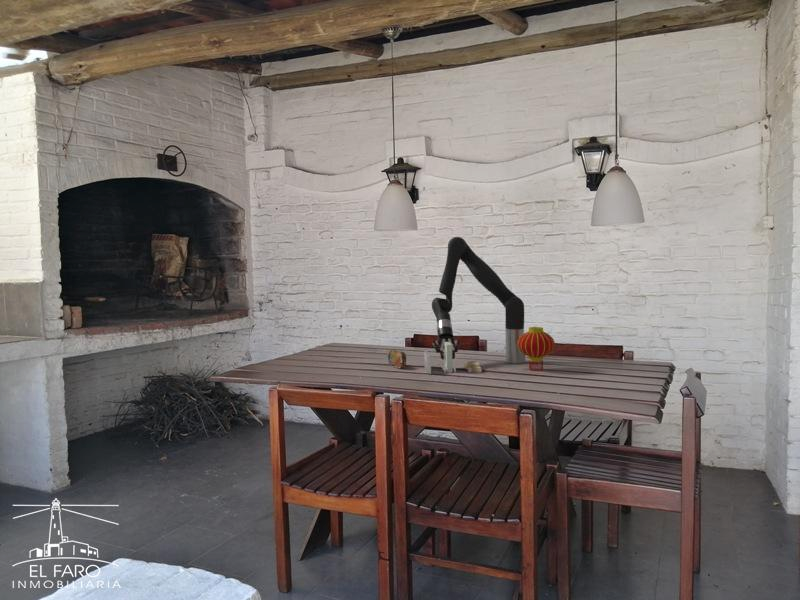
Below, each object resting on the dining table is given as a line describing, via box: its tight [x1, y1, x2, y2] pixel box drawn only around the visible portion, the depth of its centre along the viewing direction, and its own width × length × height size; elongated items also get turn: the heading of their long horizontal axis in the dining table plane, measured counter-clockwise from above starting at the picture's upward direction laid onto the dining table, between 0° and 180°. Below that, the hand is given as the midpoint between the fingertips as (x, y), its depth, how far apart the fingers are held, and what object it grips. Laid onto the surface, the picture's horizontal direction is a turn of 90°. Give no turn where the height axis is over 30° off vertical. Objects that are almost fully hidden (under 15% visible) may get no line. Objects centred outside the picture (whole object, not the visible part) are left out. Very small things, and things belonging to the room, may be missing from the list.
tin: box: [387, 349, 407, 369], centre depth 301 cm, size 15×3×8 cm, turn 28°
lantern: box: [517, 326, 556, 372], centre depth 286 cm, size 17×17×30 cm
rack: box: [423, 350, 457, 375], centre depth 290 cm, size 14×18×8 cm
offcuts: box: [463, 360, 482, 373], centre depth 291 cm, size 6×14×4 cm, turn 2°
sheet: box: [443, 342, 453, 373], centre depth 290 cm, size 2×10×13 cm, turn 2°
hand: (448, 358), depth 291 cm, fingers open, 4 cm apart
